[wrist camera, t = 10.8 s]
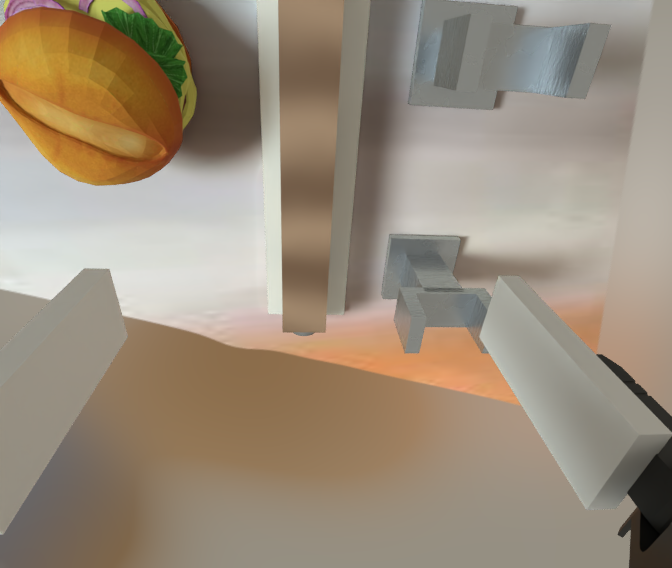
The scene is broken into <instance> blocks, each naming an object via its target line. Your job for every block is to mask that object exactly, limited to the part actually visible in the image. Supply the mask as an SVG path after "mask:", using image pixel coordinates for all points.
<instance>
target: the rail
mask: <svg viewBox="0 0 672 568" xmlns="http://www.w3.org/2000/svg"><path fill="white" fill-rule="evenodd" d="M343 14H344V0H278V29H279V101H280V172H281V243H282V314H283V332H293V333H294V334H296V335H300V336H309V335H312V334H314V333H315V332H316V333H325V331H326V313H327V296H328V278H329V261H330V243H331V225H332V208H333V190H334V173H335V155H336V137H337V120H338V102H339V85H340V67H341V50H342V32H343Z"/></svg>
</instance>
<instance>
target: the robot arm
mask: <svg viewBox="0 0 672 568" xmlns="http://www.w3.org/2000/svg"><path fill="white" fill-rule="evenodd" d="M127 337H128V335H127V331H126V328H125V324H124V320H123V317H122V313H121V310H120V306H119V302H118V299H117V295H116V291H115V288H114V284H113V281H112V277H111V273H110V270H109V269H83V270H82V271H81V272H80V273H79V274H78V275H77V276H76V277H75V278H74V279H73V280H72V281H71V282H70V283H69V284H68V285H67V286H66V287H65V288H64V289H63V290H62V291H61V292H59V293H58V294H57V295H56V296H55V297H54V298H53V299H52V300H51V301H50V302H49V303H48V304H47V305H46V306H45V307H44V308H43V309H42V310H41V311H40V312H39V313H38V314H37V315H36V316H35V317H34V318H33V319H31V321H29V322H28V323H27V324H26V325H25V326H24V327H23V328H22V329H21V330H20V331H19V332H18V333H17V334H16V335H15V336H14V337H13V338H12V339H11V340H10V341H9V342H8V343H7V344H6V345H5V346H4V347H2V348H1V349H0V534H4V532H5V531H6V529H7V528H8V526H9V524H10V523H11V521H12V520H13V518H14V516H15V515H16V513H17V512H18V510H19V509H20V507H21V505H22V504H23V502H24V501H25V499H26V497H27V496H28V494H29V493H30V491H31V490H32V488H33V486H34V484H35V483H36V482H37V480H38V478H39V477H40V475H41V473H42V472H43V470H44V469H45V467H46V466H47V464H48V463H49V461H50V459H51V458H52V456H53V455H54V453H55V451H56V450H57V448H58V447H59V445H60V443H61V442H62V440H63V438H64V437H65V436H66V434H67V432H68V431H69V429H70V428H71V426H72V424H73V423H74V421H75V420H76V418H77V416H78V415H79V413H80V411H81V410H82V408H83V407H84V405H85V404H86V402H87V401H88V399H89V397H90V396H91V394H92V393H93V391H94V389H95V388H96V386H97V385H98V383H99V382H100V380H101V378H102V377H103V375H104V374H105V372H106V370H107V369H108V367H109V366H110V364H111V363H112V361H113V359H114V358H115V356H116V355H117V353H118V351H119V350H120V348H121V347H122V345H123V343H124V342H125V340H126V339H127ZM479 338H480V339H481V341H482V342H483V344H484V346H485V347H486V349H487V350H488V352H489V354H490V355H491V357H492V359H493V360H494V362H495V363H496V365H497V367H498V368H499V370H500V371H501V373H502V375H503V376H504V378H505V379H506V381H507V383H508V384H509V386H510V388H511V389H512V391H513V392H514V394H515V396H516V397H517V399H518V400H519V402H520V404H521V405H522V407H523V408H524V410H525V412H526V413H527V415H528V417H529V418H530V420H531V421H532V423H533V425H534V426H535V427H536V429H537V431H538V432H539V434H540V436H541V437H542V439H543V441H544V442H545V444H546V445H547V447H548V449H549V450H550V452H551V454H552V455H553V457H554V458H555V460H556V462H557V463H558V465H559V466H560V468H561V470H562V471H563V473H564V475H565V476H566V478H567V479H568V481H569V483H570V484H571V485H572V487H573V489H574V490H575V492H576V494H577V495H578V497H579V499H580V500H581V502H582V503H583V505H584V507H585V508H586V510H596V509H597V510H598V509H616V508H617V507H618V505H619V504H620V503H621V502H622V500H623V499H624V498H625V496H626V495H627V494H628V495H629V496H630V497H631V499H632V500H633V501H634V503H635V504H636V505H637V508H636V509H635V510H634V512H633V513H632V514H631V515H630V517H629V518H628V519H627V520H626V521H625V523H624V524H623V525H622V527H621V528H620V530H619V532H618V535H619V536H621V537H624V536H625V534H626V533H627V532H628V531H629V530H631V539H630V560H629V568H672V416H670V415H669V414H668V413H667V412H666V411H665V410H664V409H663V408H662V407H661V406H660V405H659V404H658V403H657V402H656V401H655V400H654V399H653V398H652V397H651V396H648V395H647V392H646V391H645V390H644V389H643V388H642V387H641V386H640V385H639V384H636V383H635V380H634V379H633V378H632V377H631V376H630V375H629V374H628V373H627V372H626V371H625V370H624V369H623V368H622V367H620V366H619V365H617V364H616V363H614V362H613V361H611V360H610V359H608V358H607V357H605V356H603V355H599V354H595V353H594V352H593V351H592V350H591V349H590V348H589V347H588V346H587V345H586V344H585V343H584V342H583V341H582V340H581V339H580V338H579V337H578V336H577V335H576V334H575V333H574V332H573V331H572V330H571V329H570V328H569V327H568V326H567V324H566V323H565V322H564V321H563V320H562V319H561V318H560V317H559V316H558V315H557V314H556V313H555V312H554V311H553V310H552V309H551V308H550V307H549V306H548V305H547V304H546V303H545V302H544V301H543V300H542V299H541V298H540V297H539V296H538V295H537V294H536V293H535V292H534V291H533V290H532V289H531V288H530V287H529V285H528V284H527V283H526V282H525V281H524V280H523V279H522V278H521V277H520V276H498V279H497V282H496V285H495V288H494V291H493V295H492V298H491V301H490V304H489V307H488V310H487V314H486V317H485V320H484V323H483V326H482V329H481V333H480V336H479Z"/></svg>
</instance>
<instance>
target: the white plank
mask: <svg viewBox="0 0 672 568" xmlns="http://www.w3.org/2000/svg"><path fill="white" fill-rule="evenodd" d="M370 2H371V0H344V14H343V32H342V50H341V67H340V85H339V102H338V120H337V137H336V155H335V173H334V190H333V208H332V225H331V243H330V261H329V278H328V296H327V313H326V315H344V308H345V296H346V284H347V272H348V261H349V249H350V237H351V225H352V214H353V202H354V190H355V178H356V167H357V155H358V143H359V131H360V120H361V108H362V96H363V84H364V73H365V61H366V49H367V38H368V26H369V14H370ZM257 27H258V54H259V81H260V108H261V135H262V162H263V189H264V216H265V243H266V270H267V296H268V314H282V243H281V172H280V101H279V29H278V0H257Z"/></svg>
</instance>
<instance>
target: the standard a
mask: <svg viewBox="0 0 672 568" xmlns="http://www.w3.org/2000/svg"><path fill="white" fill-rule="evenodd" d="M460 242H461V240H460V239H459V237H458V236H425V235H389V242H388V249H387V256H386V263H385V270H384V277H383V284H382V291H381V295H382V299H397V305H396V311H395V317H394V322H395V325H396V328H397V331H398V334H399V337H400V340H401V343H402V346H403V349H404V352H405V353H419V351H420V347H421V342H422V338H423V333H424V328H425V327H467V329H468V331H469V332H470V334H471V336H472V337H473V339H474V341H475V342H476V344H477V346H478V347H479V349H480V351H481V352H482V353H489V352H488V350H487V349H486V347H485V346H484V344H483V342H482V341H481V339H480V338H479V336H480V333H481V329H482V326H483V323H484V320H485V317H486V314H487V310H488V307H489V304H490V301H491V298H492V297H491V296H490V295H489V293H488V292H487V291H486V289H483V288H462V287H461V286H460V284H459V283H458V281H457V280H456V278H455V277H454V275H453V271H454V267H455V262H456V258H457V254H458V250H459V246H460Z"/></svg>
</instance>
